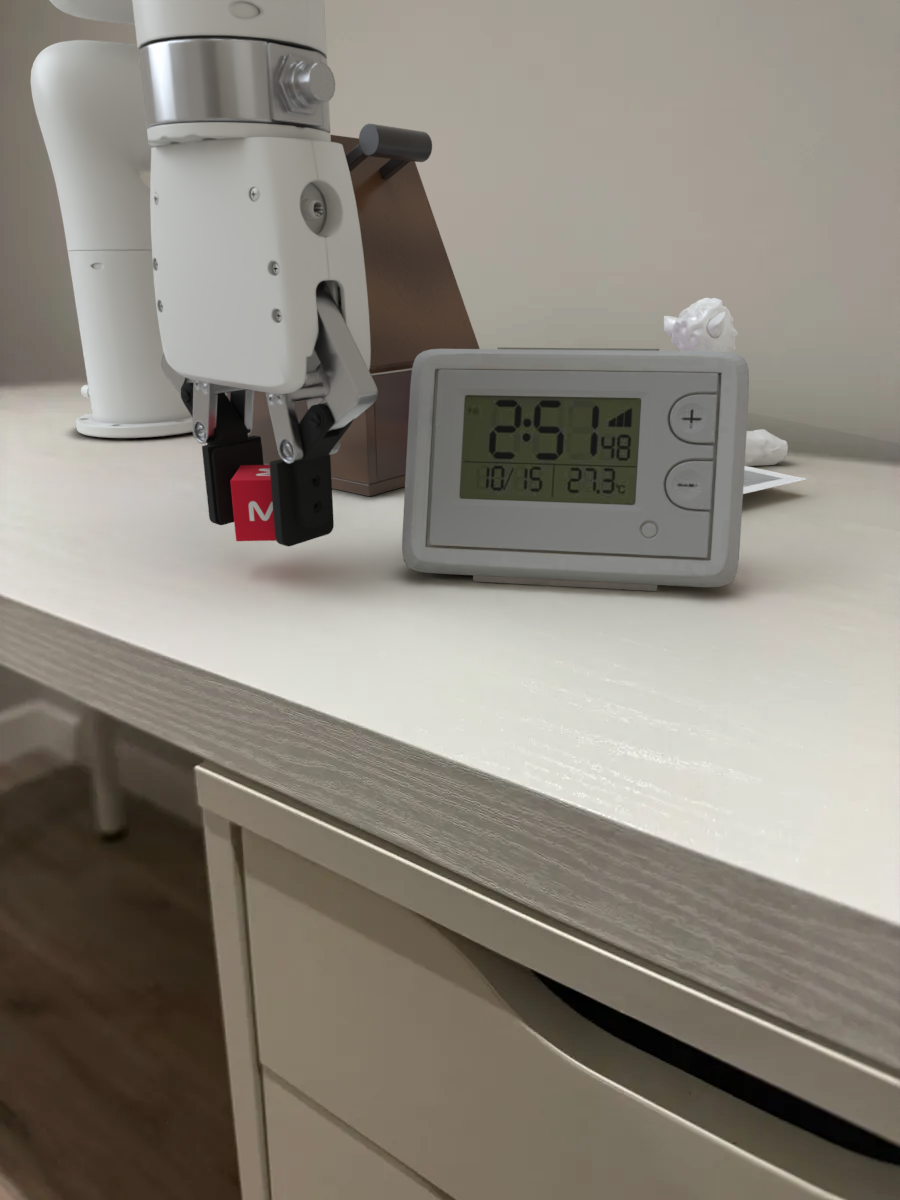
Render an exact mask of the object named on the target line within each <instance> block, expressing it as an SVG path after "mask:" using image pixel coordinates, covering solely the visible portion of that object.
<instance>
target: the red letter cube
mask: <svg viewBox="0 0 900 1200" xmlns="http://www.w3.org/2000/svg"><path fill="white" fill-rule="evenodd" d="M230 483H231V493H232V504H233V514H234V522H233V525H234V534H235V541H236V542H270V541H271V542H272V541H273V542H277V541H276V538H275V529H274V516H273V503H272V490H271V477H270V465H241V466H240V467H239V469H238V470H237V472H236V473H235V475H234V476H233V478H232V479H231V481H230Z"/></svg>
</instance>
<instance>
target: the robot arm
mask: <svg viewBox="0 0 900 1200" xmlns="http://www.w3.org/2000/svg"><path fill="white" fill-rule="evenodd" d="M48 1H49V2H50V3H51V4H52V5H53V6H54V7H55V8H56V9H58V10H59V11H61V12H63V13H64V14H67V15H70V16H73V17H75V18H79V19H84V20H89V21H97V22H101V23H102V22H103V23H112V24H120V25H121V24H122V25H132V26H134V28H135V39H136V43H129V42H117V41H107V40H106V41H105V40H94V39H93V40H92V39H75V40H74V39H73V40H65V41H64V40H63V41H59V42H56V43H53V44H50V45H48V46H47V47H45V48H44V49H42V50H41V51H40V52H39V53H38V54H37V56H36V57H35V59H34V61H33V63H32V66H31V70H30V89H31V91H30V92H31V97H32V103H33V107H34V111H35V115H36V118H37V122H38V125H39V128H40V132H41V135H42V139H43V142H44V145H45V148H46V152H47V155H48V160H49V161H50V166H51V170H52V174H53V178H54V183H55V187H56V192H57V198H58V202H59V208H60V214H61V218H62V225H63V231H64V238H65V243H66V250H67V255H68V263H69V268H70V269H69V270H70V275H71V282H72V288H73V289H72V290H73V296H74V303H75V310H76V315H77V321H78V328H79V335H80V342H81V347H82V354H83V361H84V362H83V363H84V368H85V375H86V380H87V382H86V383H87V384H84V385H82V387H81V388H80V394H81V396H82V397H83V399H88V400H89V402H90V407H91V412H89V413H85V414H82V415H80V416H78V417H77V418H76V419H75V426H76V431H77V432H78V433H79V434H80V435H81V434H82V435H84V436H89V437H94V438H95V437H97V438H106V439H137V438H140V439H141V438H154V437H155V438H156V437H166V436H174V435H175V436H176V435H182V434H188V433H192V435H193V438H194V439H195V440H196V442H197V443H198V444H201V452H202V461H203V470H204V481H205V490H206V500H207V508H208V509H207V510H208V518H209V521H210V522H211V523H212V524H215V525H219V526H224V525H225V526H226V525H228V524H232V523H234V514H233V504H232V493H231V483H230V481H231V479H232V478H233V476H234V475H235V473H236V472H237V470H238V469H239V467H240V466H241V465H264V464H263V451H262V444H261V437H259V436H255V435H254V436H249V437H248V435H249V434H250V433H251V431H252V422H253V406H254V390H255V391H261V392H265V393H266V397H267V402H268V407H269V411H270V416H271V421H272V426H273V430H274V435H275V440H276V444H277V449H278V453H279V456H280V458H281V459H280V460H276V461H271V462H270V477H271V490H272V503H273V516H274V529H275V538H276V541H275V542H276V543H277V544H278V545H281V546H286V547H292V546H296V545H299V544H302V543H305V542H309V541H311V540H315V539H318V538H320V537H324V536H326V535H329V534H331V533H332V532H333V530H334V527H335V523H334V522H335V521H334V501H333V488H332V480H331V461H330V454H334V453H336V452H337V451H338V450H339V448H340V438H341V437H342V436H343V434H344V433H345V432H346V430H347V429H348V428H349V426H350V425H351V423H352V421H353V419H355V418H357V417H358V416H359V415H360V414H361V413H363V412H364V411H365V410H366V409H367V408H368V407H370V406H371V405H372V404H373V403H374V402H375V401H376V400H377V397H378V389H377V386H376V384H375V382H374V380H373V378H372V376H371V374H370V372H369V369H370V359H371V346H370V325H369V308H368V296H367V284H366V274H365V264H364V255H363V247H362V239H361V231H360V225H359V218H358V212H357V206H356V200H355V195H354V190H353V186H352V181H351V176H350V171H349V168H348V164H347V160H346V156H345V153H344V149H343V145H342V144H340V143H335V142H331V136H330V135H331V121H330V120H331V114H330V101H331V100H332V98H333V97H334V95H335V92H336V80H335V76H334V73H333V71H332V69H331V68H330V66H328V60H327V59H328V53H327V52H328V51H327V31H326V30H327V29H326V28H327V27H326V8H325V7H326V6H325V0H48ZM142 174H150V175H149V176H150V177H149V179H150V180H149V181H150V182H149V186H150V187H149V186H148V185H147V184H146V182H145V181H144V180H143V178H142V177H141V175H142ZM304 383H305V385H306V386H303V385H304ZM329 383H330V386H329ZM227 392H231V393H230V400H229V399H228V397H227ZM303 400H306V402H307V407H308V411H307V412H306V414H305V415H304V417H303V418H302V420H301V421H300V423H299V422H298V418H297V413H296V408H295V403H294V402H297V401H303Z"/></svg>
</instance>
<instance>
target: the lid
mask: <svg viewBox="0 0 900 1200" xmlns="http://www.w3.org/2000/svg"><path fill="white" fill-rule="evenodd" d="M330 136H331V142H335V143H340V144H342V145H343V149H344V153H345V156H346V160H347V164H348V168H349V171H350V176H351V181H352V186H353V190H354V195H355V200H356V206H357V212H358V218H359V225H360V231H361V239H362V247H363V255H364V264H365V274H366V284H367V296H368V308H369V325H370V346H371V359H370V369H369V370H375V369H382V368H390V367H397V366H405V365H412V364H413V363H414V360H415V358H416V357H417V356H418V354H420V353H422V352H423V351H427V350H431V349H481V348H480V346H479V342H478V340H477V337H476V334H475V330H474V328H473V326H472V323H471V319H470V316H469V313H468V311H467V308H466V305H465V302H464V299H463V297H462V294H461V291H460V288H459V285H458V282H457V278H456V276H455V273H454V271H453V268H452V264H451V262H450V259H449V256H448V253H447V249H446V248H445V245H444V241H443V239H442V236H441V233H440V230H439V227H438V224H437V221H436V218H435V215H434V212H433V209H432V207H431V204H430V201H429V198H428V195H427V192H426V189H425V186H424V184H423V181H422V178H421V175H420V172H419V169H418V166H417V164H416V163H424V162H426V161H427V160H429V158H430V157H431V154H432V152H433V142H432V138H431V136H430V134H428V133H427V132H426V131H421V130H416V129H415V130H414V129H408V128H403V127H396V126H388V125H383V124H375V123H367V124H365V125H363V126H362V128H361V129H360V130H359V134H358V137H351V136H345V135H344V136H343V135H335V134H330Z"/></svg>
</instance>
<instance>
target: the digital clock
mask: <svg viewBox="0 0 900 1200" xmlns="http://www.w3.org/2000/svg"><path fill="white" fill-rule="evenodd" d="M749 369H750V368H749V364H748V362H747V360H746V359H745V357H744V356H741V355H740V354H738V353H735V352H732V353H731V352H722V351H679V350H660V348H603V347H601V348H599V347H598V348H595V347H594V348H593V347H590V348H589V347H587V348H586V347H581V348H580V347H497V348H480V349H431V350H427V351H423V352H422V353H420V354H418V356H417V357H416V358H415V360H414V363H413V367H412V374H411V386H410V402H409V420H408V439H407V458H406V477H405V487H404V497H403V515H402V533H401V534H402V536H401V540H402V541H401V552H402V559H403V562H404V564H405V565H406V566H407V567H408V568H409V569H411V570H413V571H416V572H418V573H424V574H425V573H426V574H440V575H460V576H472V582H477V583H497V584H498V583H499V584H515V585H533V586H534V585H535V586H553V587H554V586H555V587H556V586H557V587H571V588H572V587H573V588H574V587H575V588H591V589H592V588H593V589H607V590H608V589H611V590H627V591H628V590H630V591H647V592H648V591H649V592H657V591H658V586H669V587H670V586H671V587H672V586H673V587H689V588H690V587H691V588H719V587H725V586H726V585H728V584H730V583H732V581H733V580H734V579H735V577H736V575H737V572H738V568H739V561H740V552H741V551H740V550H741V549H740V548H741V533H742V532H741V531H742V517H743V515H742V514H743V499H744V494H743V484H744V467H745V450H746V433H747V431H748V417H749V416H748V415H749V414H748V413H749V399H750V370H749Z"/></svg>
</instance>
